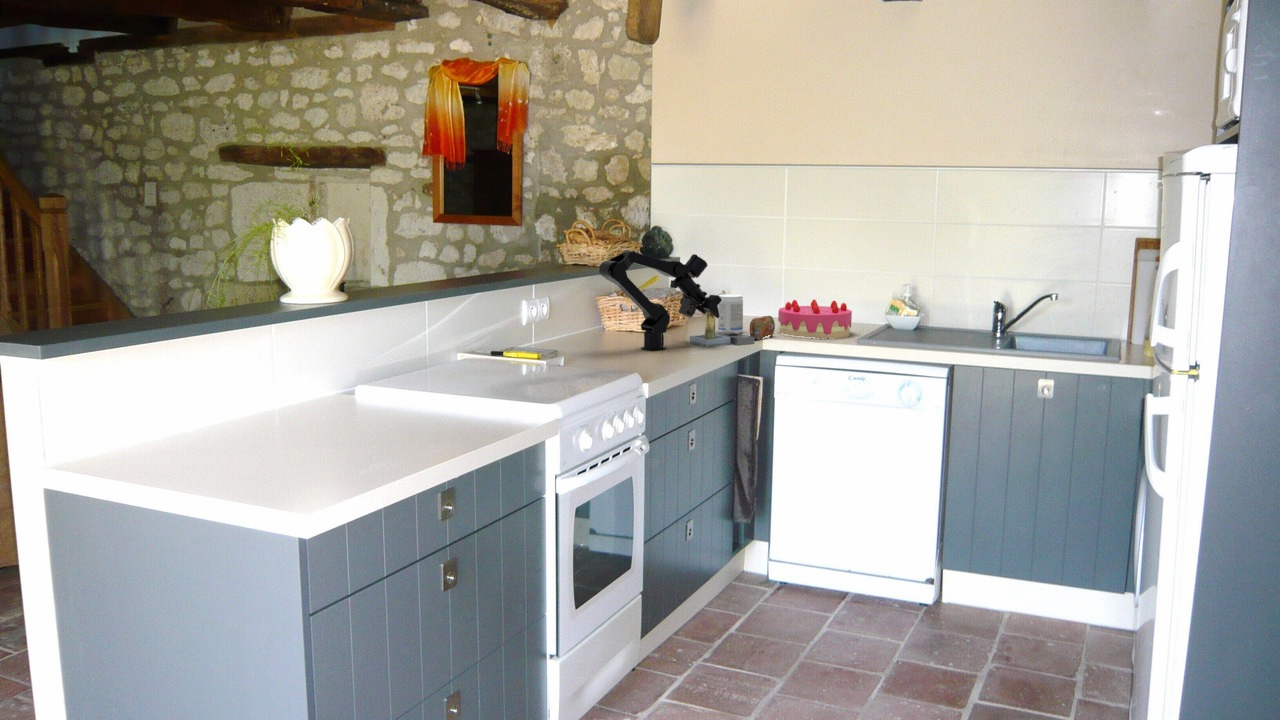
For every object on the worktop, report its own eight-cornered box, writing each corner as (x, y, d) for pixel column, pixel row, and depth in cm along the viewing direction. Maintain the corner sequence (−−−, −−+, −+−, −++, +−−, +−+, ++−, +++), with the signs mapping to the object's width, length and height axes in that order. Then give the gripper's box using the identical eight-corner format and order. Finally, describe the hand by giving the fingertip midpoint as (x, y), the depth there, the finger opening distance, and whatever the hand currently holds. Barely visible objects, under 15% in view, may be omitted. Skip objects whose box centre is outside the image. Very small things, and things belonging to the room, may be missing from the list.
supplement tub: (743, 331, 396) (744, 294, 393) (741, 334, 386) (742, 296, 384) (719, 330, 397) (719, 293, 395) (716, 334, 388) (717, 296, 386)
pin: (709, 342, 361) (710, 298, 358) (700, 341, 364) (701, 297, 362) (719, 341, 364) (720, 297, 361) (709, 340, 367) (710, 296, 365)
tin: (754, 341, 370) (755, 318, 369) (747, 340, 372) (748, 318, 371) (775, 336, 382) (775, 314, 381) (768, 336, 384) (768, 314, 383)
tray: (706, 346, 357) (706, 339, 357) (689, 342, 366) (689, 336, 366) (730, 344, 363) (730, 337, 362) (713, 340, 371) (713, 333, 371)
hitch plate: (736, 345, 361) (737, 338, 360) (710, 339, 374) (710, 332, 374) (754, 343, 365) (754, 336, 365) (728, 337, 378) (728, 331, 378)
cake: (812, 327, 409) (813, 296, 407) (866, 335, 387) (867, 303, 385) (762, 333, 392) (763, 301, 390) (816, 342, 370) (817, 308, 368)
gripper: (660, 301, 361) (685, 330, 369) (690, 307, 346) (715, 336, 354) (679, 279, 364) (703, 307, 372) (709, 283, 349) (734, 312, 356)
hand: (713, 316), depth 363 cm, fingers open, 6 cm apart
